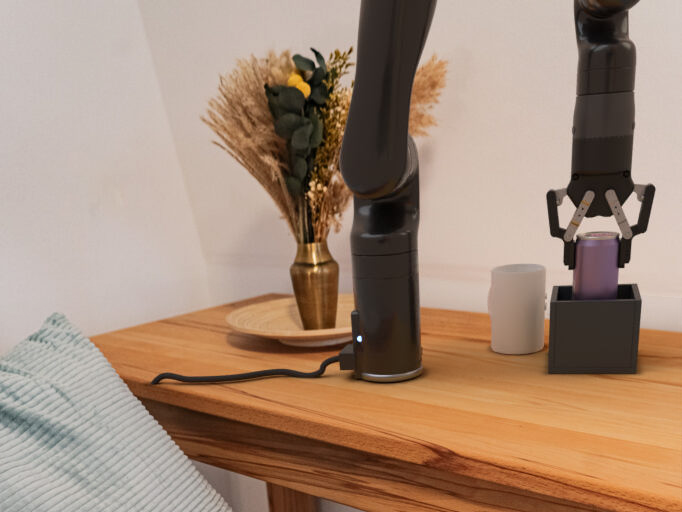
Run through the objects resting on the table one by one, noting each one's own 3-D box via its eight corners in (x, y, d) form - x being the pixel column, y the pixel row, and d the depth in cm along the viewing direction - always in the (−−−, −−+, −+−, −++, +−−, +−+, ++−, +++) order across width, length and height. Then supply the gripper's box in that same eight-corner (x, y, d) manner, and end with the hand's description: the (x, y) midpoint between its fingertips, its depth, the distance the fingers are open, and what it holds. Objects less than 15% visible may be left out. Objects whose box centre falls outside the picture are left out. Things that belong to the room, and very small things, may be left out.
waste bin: (547, 373, 116) (550, 302, 112) (550, 351, 126) (553, 285, 122) (636, 373, 113) (641, 300, 109) (632, 351, 123) (637, 283, 119)
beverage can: (615, 350, 115) (623, 236, 109) (570, 350, 116) (575, 238, 110) (612, 339, 120) (619, 230, 114) (569, 340, 122) (574, 232, 115)
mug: (513, 334, 138) (514, 258, 133) (555, 348, 128) (558, 267, 122) (469, 341, 135) (468, 265, 130) (508, 357, 125) (509, 275, 120)
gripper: (660, 128, 108) (650, 262, 115) (546, 136, 112) (542, 265, 119) (665, 129, 102) (653, 271, 109) (543, 138, 106) (540, 275, 113)
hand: (595, 267), depth 114 cm, fingers closed on beverage can, 6 cm apart
